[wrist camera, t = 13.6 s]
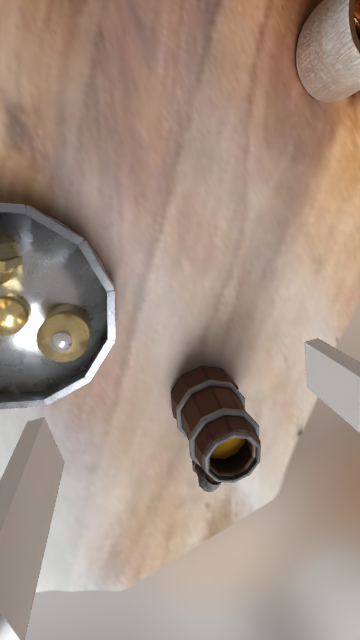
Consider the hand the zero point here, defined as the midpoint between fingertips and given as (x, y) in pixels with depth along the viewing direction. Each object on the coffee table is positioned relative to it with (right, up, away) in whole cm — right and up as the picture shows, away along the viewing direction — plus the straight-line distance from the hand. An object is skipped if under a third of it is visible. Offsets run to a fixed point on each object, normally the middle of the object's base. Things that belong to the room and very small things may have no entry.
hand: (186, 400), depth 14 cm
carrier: (-23, +6, +26) cm, 35 cm away
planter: (+20, +39, +25) cm, 50 cm away
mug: (+3, -11, +38) cm, 40 cm away
